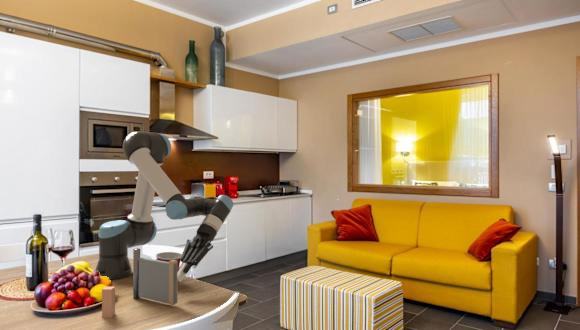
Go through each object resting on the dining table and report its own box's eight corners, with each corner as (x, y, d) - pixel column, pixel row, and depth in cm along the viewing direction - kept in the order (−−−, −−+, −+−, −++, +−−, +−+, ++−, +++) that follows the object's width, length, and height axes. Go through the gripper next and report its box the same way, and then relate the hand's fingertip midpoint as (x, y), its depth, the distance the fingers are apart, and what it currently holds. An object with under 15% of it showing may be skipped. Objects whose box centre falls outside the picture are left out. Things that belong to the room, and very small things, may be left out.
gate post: (132, 297, 148) (132, 248, 148) (139, 296, 149) (139, 248, 149) (133, 299, 146) (133, 250, 146) (140, 298, 147) (140, 249, 147)
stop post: (105, 313, 132) (106, 286, 132) (115, 313, 132) (115, 286, 132) (101, 317, 129) (102, 289, 129) (111, 317, 129) (111, 289, 129)
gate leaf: (138, 296, 146) (138, 255, 145) (142, 295, 147) (143, 254, 147) (172, 305, 137) (172, 261, 137) (177, 303, 139) (177, 260, 139)
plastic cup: (175, 288, 159) (175, 258, 159) (150, 286, 161) (150, 256, 161) (187, 280, 170) (187, 252, 169) (164, 278, 172) (164, 250, 172)
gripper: (225, 235, 160) (195, 288, 146) (202, 232, 167) (171, 282, 153) (216, 224, 156) (184, 277, 142) (192, 221, 163) (159, 271, 149)
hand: (177, 279), depth 147 cm, fingers closed
